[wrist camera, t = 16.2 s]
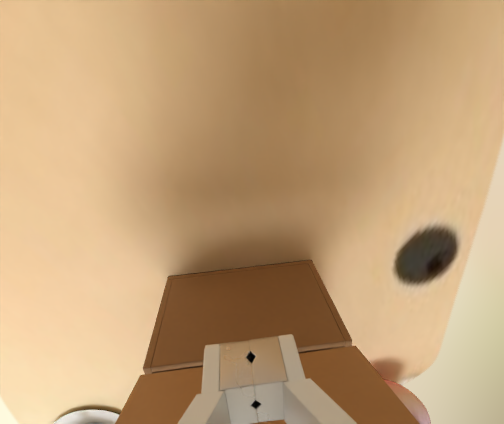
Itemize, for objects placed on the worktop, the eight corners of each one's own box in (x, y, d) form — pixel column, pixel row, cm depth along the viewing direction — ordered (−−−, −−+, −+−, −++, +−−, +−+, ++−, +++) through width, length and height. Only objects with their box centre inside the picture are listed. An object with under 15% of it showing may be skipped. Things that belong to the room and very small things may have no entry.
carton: (167, 276, 27) (139, 380, 17) (311, 259, 28) (357, 350, 18) (195, 388, 34) (185, 504, 25) (308, 372, 35) (340, 478, 26)
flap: (140, 380, 18) (140, 374, 18) (356, 351, 18) (355, 345, 18) (57, 546, 9) (55, 535, 9) (458, 478, 10) (457, 468, 10)
